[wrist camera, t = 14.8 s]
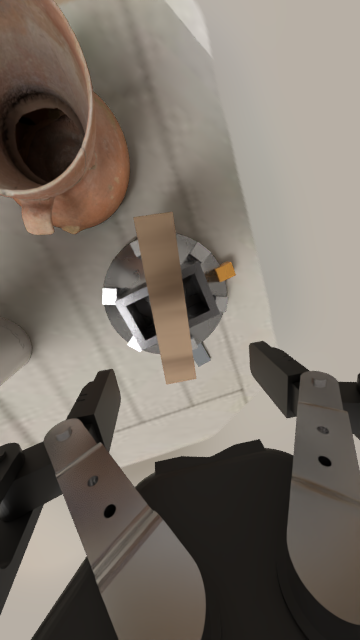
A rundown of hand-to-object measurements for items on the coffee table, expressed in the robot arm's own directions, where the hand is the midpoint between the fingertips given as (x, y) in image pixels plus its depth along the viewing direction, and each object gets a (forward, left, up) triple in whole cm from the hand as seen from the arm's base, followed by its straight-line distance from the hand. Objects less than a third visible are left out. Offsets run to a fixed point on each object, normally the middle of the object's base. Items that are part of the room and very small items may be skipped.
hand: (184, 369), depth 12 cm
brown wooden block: (+3, +9, -11) cm, 14 cm away
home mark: (0, -11, -22) cm, 24 cm away
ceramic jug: (-2, +20, -22) cm, 30 cm away
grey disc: (0, 0, -22) cm, 22 cm away
